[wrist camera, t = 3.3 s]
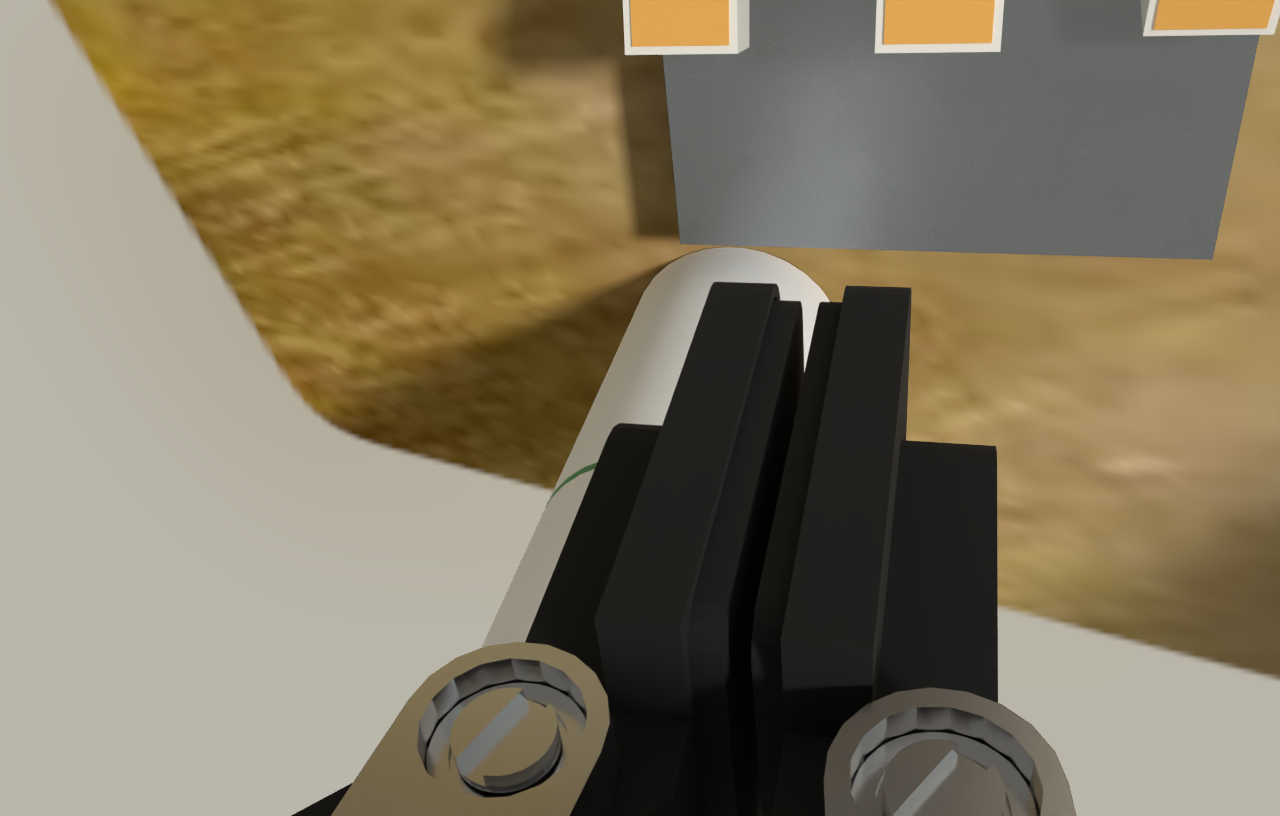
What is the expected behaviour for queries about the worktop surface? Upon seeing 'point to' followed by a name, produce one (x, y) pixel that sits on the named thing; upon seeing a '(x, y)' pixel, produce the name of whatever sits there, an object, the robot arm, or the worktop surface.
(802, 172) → the breaker panel
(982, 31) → the rocker mid
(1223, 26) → the rocker
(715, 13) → the rocker
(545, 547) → the cylindrical container
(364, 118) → the worktop surface
